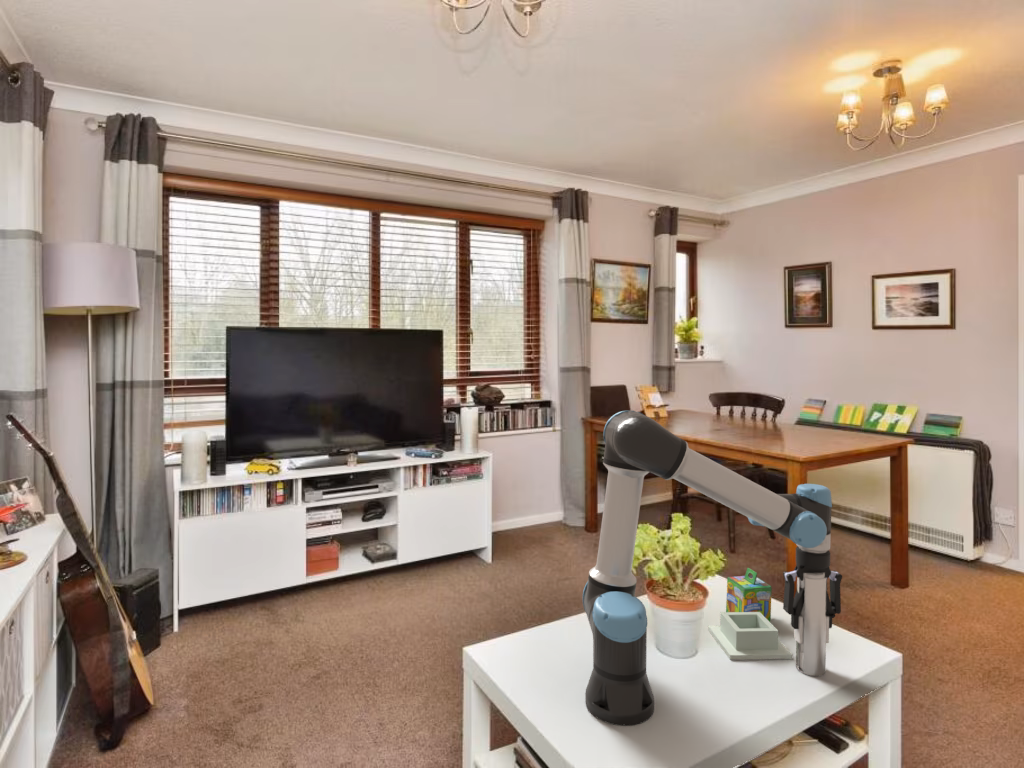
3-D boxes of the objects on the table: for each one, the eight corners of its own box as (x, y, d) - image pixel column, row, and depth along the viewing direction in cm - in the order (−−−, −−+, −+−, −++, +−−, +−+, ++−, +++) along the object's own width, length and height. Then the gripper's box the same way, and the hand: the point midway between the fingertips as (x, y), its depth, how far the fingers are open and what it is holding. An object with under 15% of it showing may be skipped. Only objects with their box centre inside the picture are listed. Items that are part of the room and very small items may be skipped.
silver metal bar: (829, 678, 139) (831, 576, 138) (800, 675, 140) (801, 574, 139) (820, 663, 145) (822, 566, 144) (792, 661, 147) (794, 564, 145)
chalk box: (725, 614, 173) (725, 565, 173) (752, 611, 175) (753, 563, 174) (743, 628, 164) (744, 577, 164) (772, 625, 166) (773, 575, 165)
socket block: (730, 659, 148) (730, 636, 147) (708, 629, 164) (708, 608, 163) (792, 659, 148) (792, 635, 147) (764, 629, 164) (764, 607, 163)
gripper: (782, 554, 137) (780, 649, 139) (860, 553, 138) (858, 647, 139) (768, 543, 145) (766, 633, 146) (841, 542, 145) (839, 632, 146)
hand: (811, 640), depth 142 cm, fingers closed on silver metal bar, 6 cm apart
